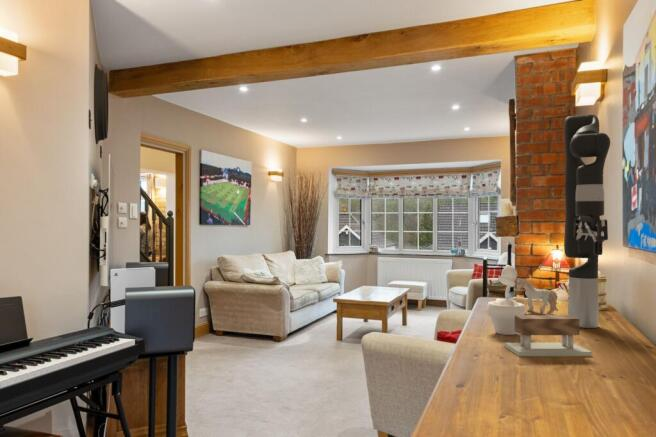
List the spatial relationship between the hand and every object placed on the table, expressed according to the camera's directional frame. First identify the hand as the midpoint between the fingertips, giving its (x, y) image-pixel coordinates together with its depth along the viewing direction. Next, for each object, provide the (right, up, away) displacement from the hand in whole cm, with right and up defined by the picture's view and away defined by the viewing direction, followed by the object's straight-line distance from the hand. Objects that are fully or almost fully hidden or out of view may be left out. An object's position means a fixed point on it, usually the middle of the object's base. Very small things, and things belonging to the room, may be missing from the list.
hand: (589, 253), depth 141 cm
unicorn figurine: (+5, -28, +50) cm, 58 cm away
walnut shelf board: (-17, -22, -9) cm, 29 cm away
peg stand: (-17, -27, -9) cm, 33 cm away
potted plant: (-21, -28, +13) cm, 37 cm away
